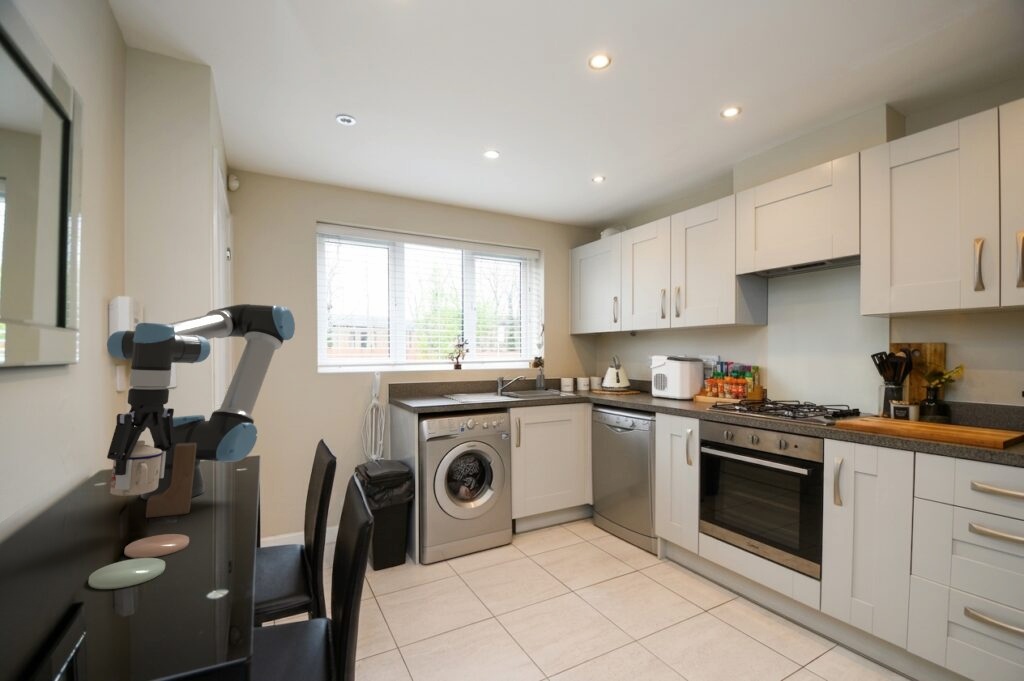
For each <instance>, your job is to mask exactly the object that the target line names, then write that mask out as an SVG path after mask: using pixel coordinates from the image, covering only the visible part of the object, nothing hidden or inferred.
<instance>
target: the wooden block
mask: <svg viewBox="0 0 1024 681" xmlns="http://www.w3.org/2000/svg"><path fill="white" fill-rule="evenodd" d="M196 446H197V444H196V443H178V444H177V445H176V446H175V450H174V460H173V469H172V479H171V485H170V487H169V489H167V490H166V491H165V492H164V493H161V494H157V495H152V496H150V497H149V499H148V500H146V501H147V502H146V510H145V518H146V519H147V518H148V519H150V518H159V517H168V516H169V517H170V516H177V515H187V514H189V513H190V510H191V504H192V497H191V495H192V485H193V476H194V466H195V456H196Z"/></svg>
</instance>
